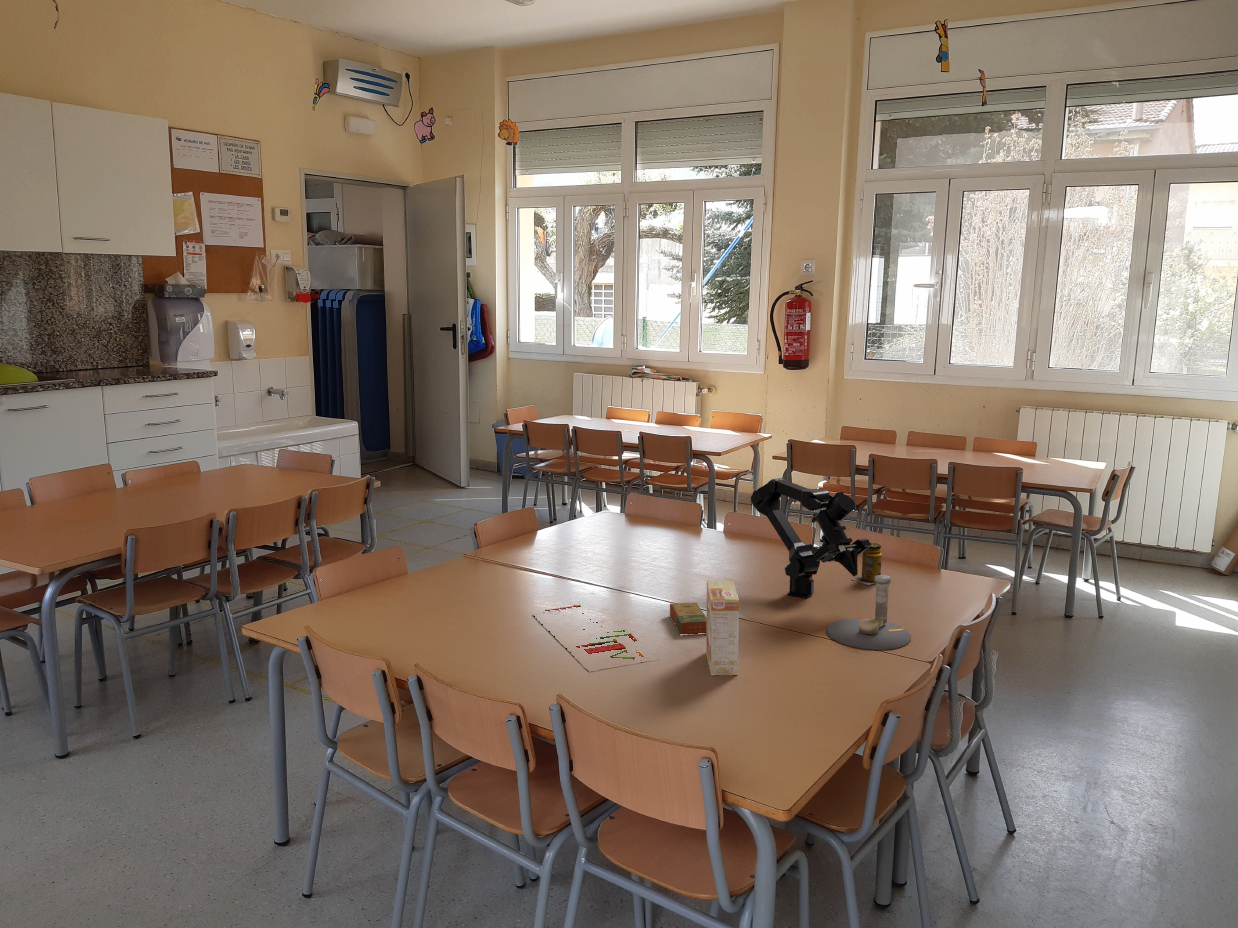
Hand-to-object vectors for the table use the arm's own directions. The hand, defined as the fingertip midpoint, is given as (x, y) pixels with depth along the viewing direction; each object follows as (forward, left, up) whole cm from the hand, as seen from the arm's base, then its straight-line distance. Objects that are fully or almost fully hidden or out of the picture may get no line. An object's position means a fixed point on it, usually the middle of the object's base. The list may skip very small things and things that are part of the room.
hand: (855, 575), depth 255 cm
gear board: (-58, -50, -13) cm, 78 cm away
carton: (-39, -29, -13) cm, 50 cm away
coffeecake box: (-20, -50, -12) cm, 56 cm away
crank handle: (+8, -9, -11) cm, 16 cm away
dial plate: (+7, -13, -12) cm, 19 cm away
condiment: (-5, +36, -12) cm, 38 cm away
